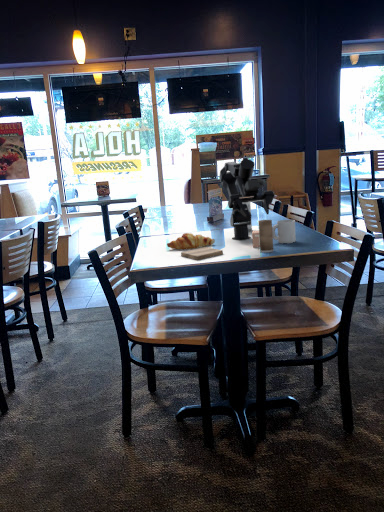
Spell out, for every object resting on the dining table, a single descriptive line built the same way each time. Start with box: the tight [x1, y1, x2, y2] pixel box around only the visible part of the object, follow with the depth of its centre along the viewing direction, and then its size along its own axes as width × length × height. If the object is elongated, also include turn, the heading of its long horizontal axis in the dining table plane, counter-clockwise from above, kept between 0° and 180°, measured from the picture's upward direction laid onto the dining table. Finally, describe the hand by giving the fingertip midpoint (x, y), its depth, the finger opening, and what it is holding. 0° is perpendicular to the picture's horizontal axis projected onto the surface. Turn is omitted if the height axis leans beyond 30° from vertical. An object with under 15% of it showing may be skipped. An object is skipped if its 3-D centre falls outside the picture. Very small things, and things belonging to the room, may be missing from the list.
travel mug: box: [238, 191, 253, 232], centre depth 209 cm, size 6×7×20 cm
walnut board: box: [180, 246, 224, 261], centre depth 164 cm, size 12×12×2 cm
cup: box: [272, 219, 297, 244], centre depth 173 cm, size 7×10×9 cm
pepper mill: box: [258, 219, 275, 254], centre depth 159 cm, size 5×5×12 cm
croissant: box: [166, 232, 216, 251], centre depth 181 cm, size 21×10×8 cm, turn 97°
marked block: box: [251, 229, 260, 248], centre depth 171 cm, size 6×6×6 cm
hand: (257, 215), depth 164 cm, fingers open, 9 cm apart
